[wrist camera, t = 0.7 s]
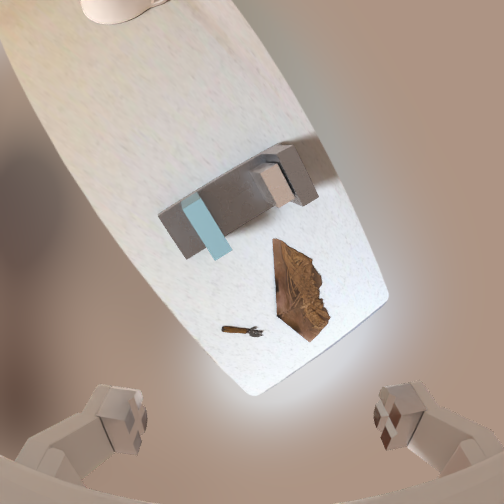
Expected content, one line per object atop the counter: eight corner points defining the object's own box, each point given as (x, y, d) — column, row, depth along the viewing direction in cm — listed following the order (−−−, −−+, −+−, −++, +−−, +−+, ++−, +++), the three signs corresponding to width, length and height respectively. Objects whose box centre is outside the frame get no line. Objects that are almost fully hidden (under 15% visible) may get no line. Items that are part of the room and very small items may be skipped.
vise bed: (185, 256, 56) (189, 276, 47) (158, 213, 53) (155, 226, 43) (299, 186, 57) (324, 193, 48) (277, 143, 54) (299, 141, 45)
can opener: (220, 329, 62) (221, 332, 61) (224, 319, 62) (225, 322, 61) (261, 337, 65) (262, 340, 64) (265, 328, 65) (266, 330, 64)
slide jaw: (208, 246, 54) (215, 260, 47) (180, 201, 51) (182, 209, 44) (223, 236, 54) (232, 250, 47) (196, 191, 51) (200, 198, 44)
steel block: (265, 201, 55) (278, 207, 48) (248, 171, 52) (260, 173, 46) (280, 192, 55) (294, 198, 48) (264, 162, 52) (277, 163, 46)
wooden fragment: (332, 330, 69) (334, 332, 69) (288, 350, 68) (290, 353, 67) (305, 225, 60) (308, 226, 59) (252, 246, 59) (253, 248, 58)
